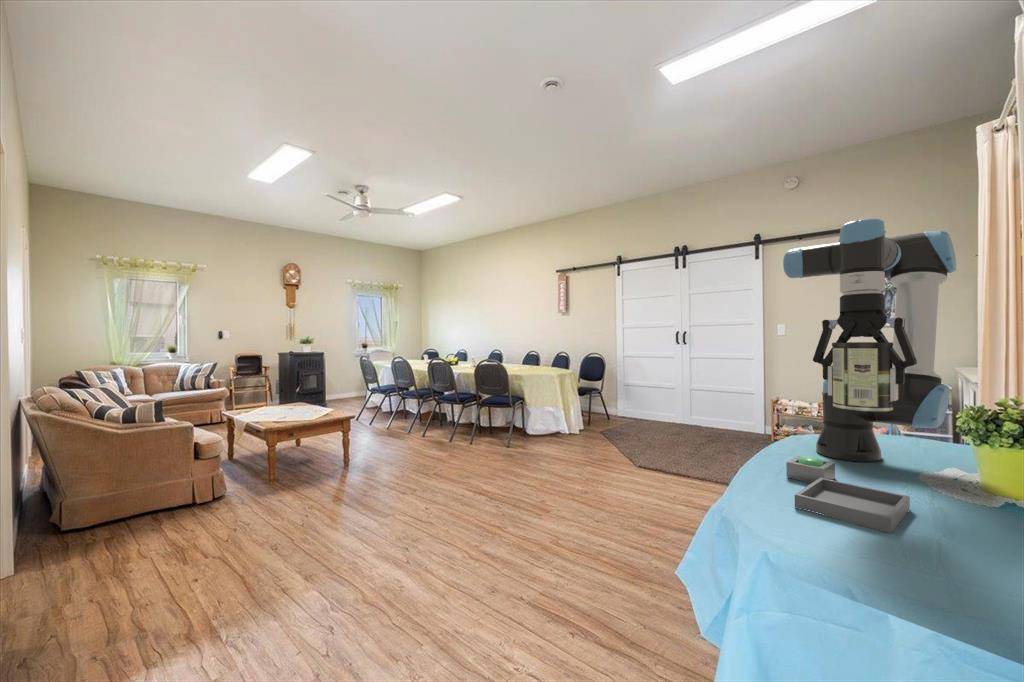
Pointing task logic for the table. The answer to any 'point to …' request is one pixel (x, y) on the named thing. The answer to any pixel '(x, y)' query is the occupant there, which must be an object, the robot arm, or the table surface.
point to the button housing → (809, 470)
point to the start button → (811, 461)
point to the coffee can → (862, 376)
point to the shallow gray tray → (854, 504)
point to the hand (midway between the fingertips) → (861, 397)
